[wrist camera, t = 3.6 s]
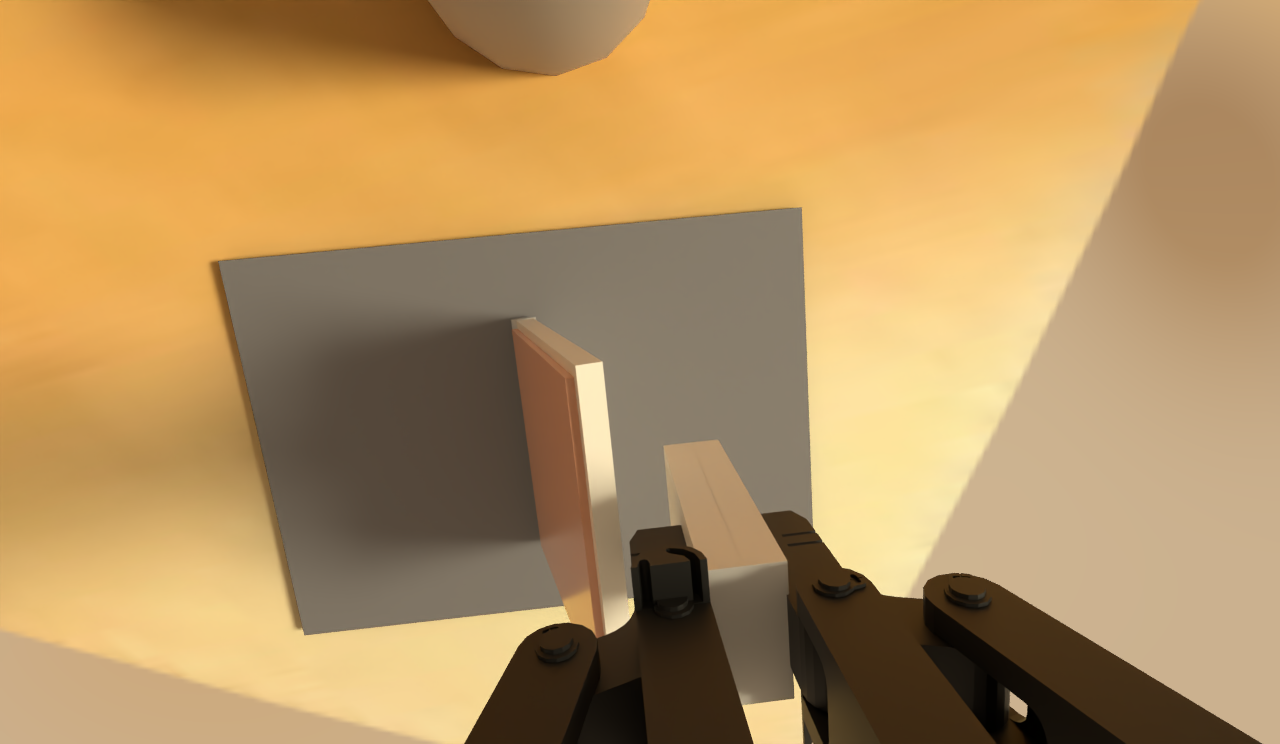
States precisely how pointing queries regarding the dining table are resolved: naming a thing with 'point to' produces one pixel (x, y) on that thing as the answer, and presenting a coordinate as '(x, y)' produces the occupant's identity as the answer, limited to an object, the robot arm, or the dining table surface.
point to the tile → (572, 474)
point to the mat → (507, 397)
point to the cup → (541, 30)
